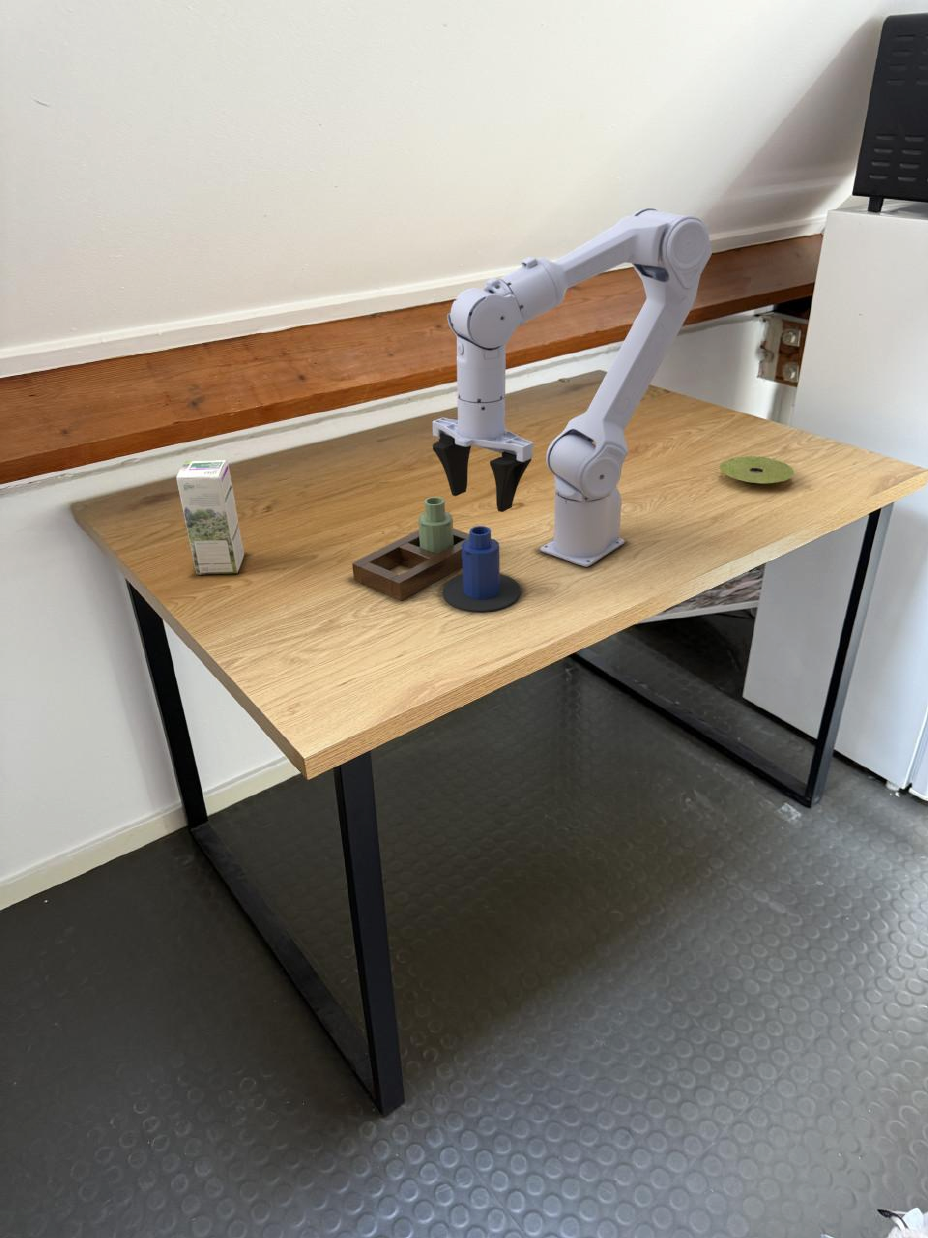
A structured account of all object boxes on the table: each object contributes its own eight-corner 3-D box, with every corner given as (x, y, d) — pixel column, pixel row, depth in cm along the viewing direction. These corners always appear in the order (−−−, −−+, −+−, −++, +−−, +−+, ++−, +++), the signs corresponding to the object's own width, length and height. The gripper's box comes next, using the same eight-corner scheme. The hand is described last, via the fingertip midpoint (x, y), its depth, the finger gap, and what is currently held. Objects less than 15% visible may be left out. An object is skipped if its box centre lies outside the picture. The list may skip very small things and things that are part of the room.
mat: (705, 472, 148) (706, 460, 147) (766, 462, 150) (768, 451, 149) (741, 498, 139) (743, 486, 138) (806, 488, 141) (808, 476, 140)
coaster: (477, 566, 122) (477, 564, 122) (536, 589, 117) (536, 587, 116) (426, 595, 116) (426, 593, 116) (486, 621, 110) (486, 618, 110)
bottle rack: (353, 580, 120) (351, 562, 119) (435, 537, 130) (434, 521, 129) (401, 601, 115) (399, 583, 114) (482, 555, 125) (482, 538, 124)
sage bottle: (436, 547, 128) (433, 491, 123) (460, 556, 125) (458, 499, 121) (413, 559, 125) (410, 502, 120) (438, 568, 122) (435, 511, 118)
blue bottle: (479, 578, 119) (478, 519, 114) (506, 589, 116) (506, 529, 112) (456, 592, 116) (453, 532, 112) (483, 603, 113) (482, 542, 109)
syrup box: (245, 554, 127) (228, 457, 120) (237, 575, 122) (219, 474, 115) (204, 556, 127) (185, 458, 120) (195, 576, 122) (174, 476, 115)
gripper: (414, 392, 110) (418, 496, 117) (507, 416, 102) (506, 526, 109) (453, 379, 114) (454, 480, 121) (545, 401, 106) (541, 508, 113)
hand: (481, 501), depth 115 cm, fingers open, 7 cm apart
